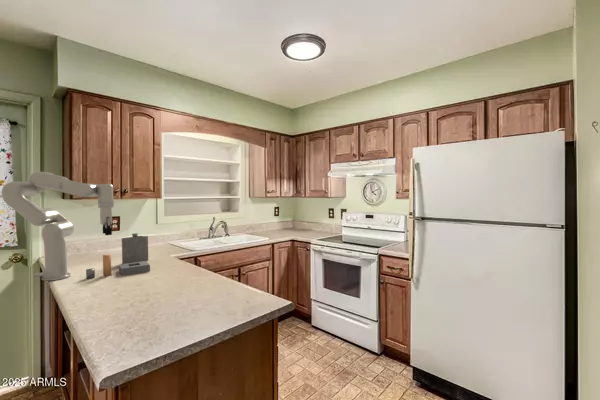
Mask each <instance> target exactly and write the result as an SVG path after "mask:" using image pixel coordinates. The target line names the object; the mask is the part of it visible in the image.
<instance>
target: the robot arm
mask: <svg viewBox="0 0 600 400" xmlns="http://www.w3.org/2000/svg"><path fill="white" fill-rule="evenodd" d="M47 190H52V191H57V192H61V193H65V194H68V195H73V196H78V197H82V198H83V197H84V198H88V197H89V198H91V197H92V198H93V197H97V206H98V207H97V208H99V209H100V210H99V217H100V218H99V221H100V222H99V224H101V226H102V234H104V235H105V236H111V235H113V231H112V229H113V228H112V224H113V212H112V211H113V209H112V208H114V207H115V206H114V203H115V202H114V186H113V184H110V183H100V184H96V183H84V182H80V181H74V180H71V179H68V177H66V176H62V175H56V174H54V173H52V172H50V171H49V172H48V171H47V172H46V171H35V172H32V173H31V174H30V175H29V179H28V181H10V182H8V183H7V182H6V183H5V184H4V185H3V187H2V189H1V198H2V200H3V201H4V202H5V204H6V205H8V206H9V207H10V208H11V209H12V210H14V211H15V212H17V213H18V214H19V215H20V216H21V217H23V218H24V219H25V220H26V221H27V222H29V223H30V224H32V225H33V226H36V227H42V226H43V228H42V230H41V236H42V240H43V247H44V271H42V272H36V273H34V278H39V277H41V280H42V281H47V282H48V281H49V282H51V281H58V280H63V279H66V278H69V277H70V276H71V273H70V272H68V264H67V263H68V262H67V261H68V260H67V259H68V258H67V255H68V254H67V242H66V240H65V238H66V237H69V236H71V235H72V234H73V233H74V232H75V227H74V224H73V223H72V222H71V221H70V220H68V218H66V217H65V216H63V214H62V213H60V212H59V211H57V210H55V209H53V208H42V207H40V206H39V205H37V204H36V202H34V201H32V200H31V199H29V198H27V197H33V196H34V197H35V196H37V195H38V194H41V193H43V192H45V191H47Z"/></svg>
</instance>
